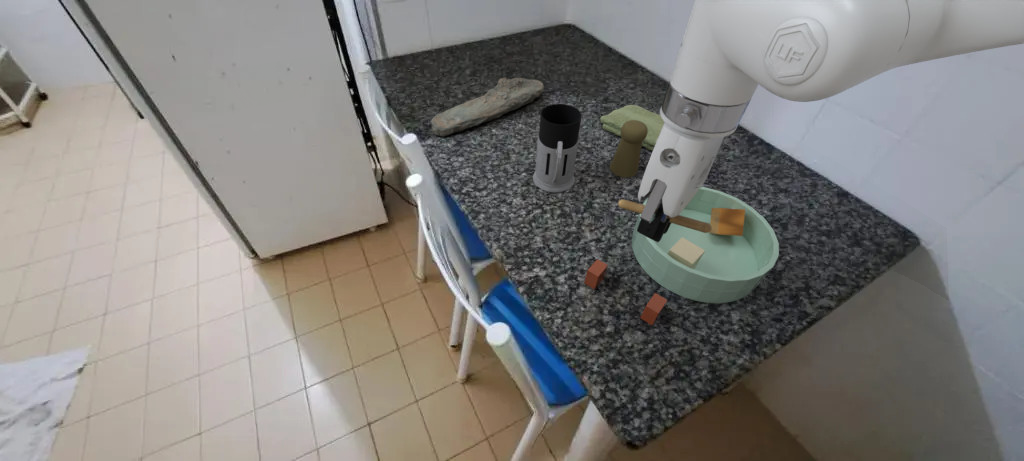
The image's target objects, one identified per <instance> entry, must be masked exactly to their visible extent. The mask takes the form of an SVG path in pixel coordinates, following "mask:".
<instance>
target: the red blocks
mask: <svg viewBox="0 0 1024 461" xmlns="http://www.w3.org/2000/svg"><path fill="white" fill-rule="evenodd" d="M608 267H609V265H608V264H607V263H605V262H604V261H602V260H601V259H598V258H597V259H595V261H594V262H593V263H592V264H591V266H590V267H589V268H588V269H587V271H586V275H585V279H584V284H585V285H586V286H588V287H590V288H591V289H593V290H596V289H597V288H598V287H599V285H600V284H601V283H602V282H603V281H604V279H605V277H606V274H607V271H608ZM667 302H668V299H666V298H665V297H664V296H661V295H660V294H658V293H656V292H655V293H653V295H652V296H651V298H650V299H649V301H648V302H647V304H646V305H645V307H644V309H643V311H642V313H641V315H640V320H642V321H644V322H645V323H647V324H648V325H650V326H653V325H654V324H655V322H656V321H657V320H658V318H659V317H660V315H661V313H662V311H663V309H664V307H665V306H666V304H667Z"/></svg>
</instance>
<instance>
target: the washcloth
mask: <svg viewBox="0 0 1024 461" xmlns="http://www.w3.org/2000/svg"><path fill="white" fill-rule="evenodd" d="M599 120H600V123H602V129H603V130H604V131H607V132H608V133H609V132H610V133H611V134H614V135H615V136H618V137H621V128H622V126H623V124H624V123H625V122H627V121H630V120H637V121H641V122H643V123H644V124H645V125H646V126H647V129H648V133H647V136H646V138H645V140H643V141H642V146H641V147H643V148H645V149H647V150H649V151H651V152H653V149H654V147H655V144H656V141H657V139H658V137H659V135H660V132H661V130H662V127H663V125H664V123H665V122H664V120H663V119H662V118H661V115H660V114H658V113H656V112H653V111H650V110H648V109H646V108H644V107H641V106H639V105H638V104H637V105H636V104H627V105H624V106H623V107H621V108H616V109H614V110H612V112H610V113H609V114H606V115H602V116H601V117H600V118H599Z"/></svg>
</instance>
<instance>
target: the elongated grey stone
mask: <svg viewBox="0 0 1024 461" xmlns="http://www.w3.org/2000/svg"><path fill="white" fill-rule="evenodd" d="M544 90H545V86H544V82H542V81H540V80H539V79H533V78H532V79H529V78H528V79H527V78H523V77H513V78H507V77H501V78H499V79H498V81H497V84H496V85H495V86H494V87H493V88H490V89H489V90H487V92H486V93H485V94H484V95H480V97H475V98H472V99H469V100H466V101H465V102H464V103H460V104H458V105H455V106H453V107H451V108H449V109H447V110H445V111H442V112H439V113H436V114H435V116H434V117H432V119H430V125H431V131H432V133H433V134H434V135H436V136H439V137H443V138H444V137H447V136H449V135H452V134H455V133H457V132H458V133H459V132H463V131H464V130H467V129H470V128H472V127H477V126H478V127H479V126H480V125H482V124H483V123H486V122H490V121H492V120H496V119H499V118H500V117H502V116H503V115H504V114H507V113H510V112H512V111H516V110H517V109H520V108H521V107H523V106H526V105H528V104H531V103H532V102H534V101H535V99H537V98H539V97H540V96H541V95H542V94H543V93H544Z"/></svg>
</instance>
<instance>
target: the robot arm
mask: <svg viewBox="0 0 1024 461" xmlns="http://www.w3.org/2000/svg"><path fill="white" fill-rule="evenodd" d="M1018 45H1024V0H694V3H693V6H692V8H691V12H690V15H689V19H688V22H687V25H686V27H685V31H684V34H683V37H682V40H681V43H680V47H679V50H678V52H677V56H676V58H675V62H674V65H673V69H672V72H671V75H670V77H669V81H668V85H667V88H666V91H665V93H664V96H663V100H662V102H661V106H660V110H659V115H661V118H662V119H663V120H664V122H665V123H664V125H663V127H662V130H661V132H660V135H659V137H658V139H657V141H656V144H655V147H654V149H653V151H651V154H650V157H649V159H648V162H647V165H646V167H645V170H644V173H643V176H642V179H641V181H640V185H639V190H638V192H637V200H638V201H639V203H642V202H645V201H646V199H647V198H648V200H647V203H646V205H645V207H644V210H643V212H642V214H641V216H640V219H641V220H640V223H639V226H638V229H637V231H638V232H639V233H640V234H642V235H644V236H646V237H648V238H650V239H652V240H654V241H656V242H659V241H660V240H661V238H662V236H663V234H665V233H666V232H667V231H668V229H669V227H670V225H671V223H670V222H669V220H670V219H668V216H669V217H671V218H672V217H676V216H678V215H679V214H680V213H681V212H682V211H683V209H684V208H685V207H686V206H687V204H688V203H689V202H690V201H691V200H692V198H693V197H694V196H695V194H696V193H697V192H698V191H699V189H700V188H701V187H703V185H704V184H705V182H706V180H707V178H708V176H709V174H710V172H711V169H712V167H713V165H714V162H715V159H716V158H717V155H718V153H719V150H720V148H721V147H722V144H723V141H724V139H725V138H726V137H728V136H731V135H732V134H734V133H735V132H736V130H737V128H738V126H739V125H740V122H741V120H742V118H743V117H744V114H745V112H746V111H747V109H748V107H749V104H750V103H751V101H752V98H753V96H754V94H755V92H756V90H757V89H758V86H760V87H762V88H763V89H765V90H766V91H767V92H769V93H771V94H773V95H774V96H777V97H779V98H781V99H784V100H787V101H791V102H798V103H808V102H817V101H822V100H825V99H828V98H831V97H834V96H837V95H838V94H841V93H843V92H845V91H847V90H849V89H852V88H854V87H855V86H856V87H857V86H858V85H860V84H862V83H864V82H866V81H868V80H870V79H873V78H874V77H876V76H879V75H881V74H883V73H885V72H888V71H890V70H893V69H896V68H900V67H905V66H909V65H913V64H918V63H923V62H929V61H933V60H939V59H944V58H949V57H955V56H960V55H966V54H971V53H976V52H982V51H987V50H993V49H999V48H1005V47H1011V46H1018Z"/></svg>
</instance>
